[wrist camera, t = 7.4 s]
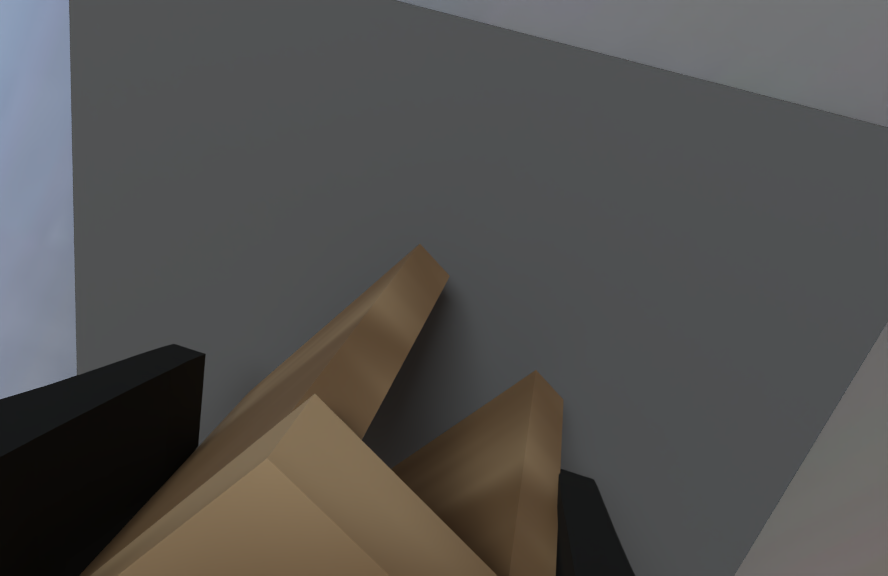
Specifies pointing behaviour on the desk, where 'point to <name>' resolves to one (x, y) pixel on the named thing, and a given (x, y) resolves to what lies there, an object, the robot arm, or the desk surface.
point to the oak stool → (356, 469)
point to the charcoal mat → (486, 238)
